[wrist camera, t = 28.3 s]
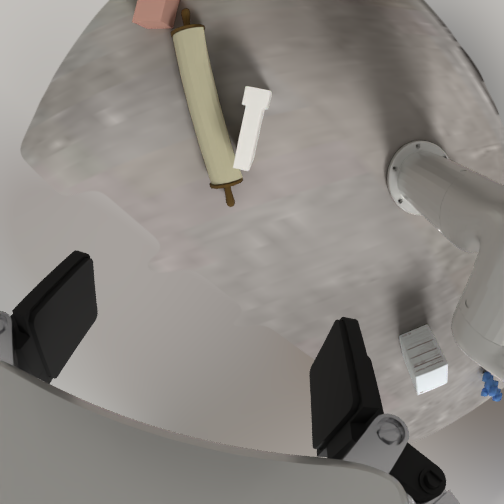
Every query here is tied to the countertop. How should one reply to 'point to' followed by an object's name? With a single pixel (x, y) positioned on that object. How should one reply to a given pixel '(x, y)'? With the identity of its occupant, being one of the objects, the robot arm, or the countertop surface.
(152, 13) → the block
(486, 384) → the grapes
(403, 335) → the supplement box
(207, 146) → the rolling pin
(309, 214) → the countertop surface
